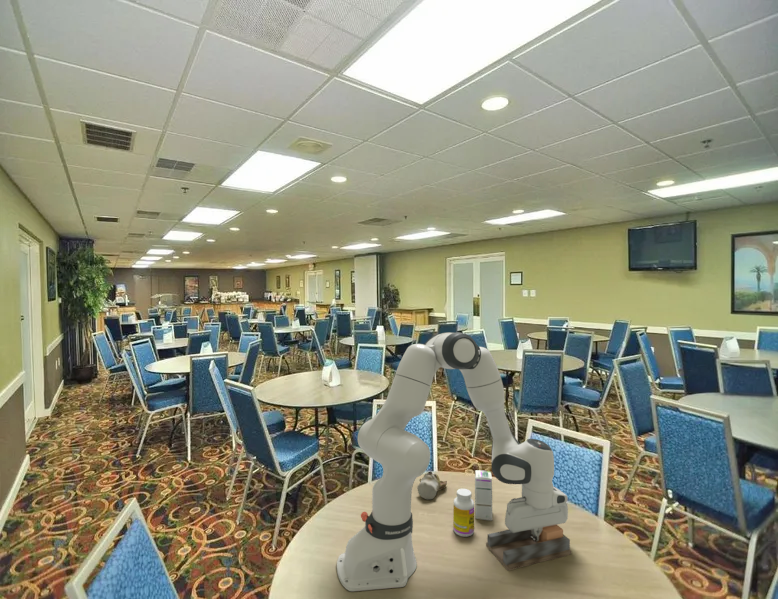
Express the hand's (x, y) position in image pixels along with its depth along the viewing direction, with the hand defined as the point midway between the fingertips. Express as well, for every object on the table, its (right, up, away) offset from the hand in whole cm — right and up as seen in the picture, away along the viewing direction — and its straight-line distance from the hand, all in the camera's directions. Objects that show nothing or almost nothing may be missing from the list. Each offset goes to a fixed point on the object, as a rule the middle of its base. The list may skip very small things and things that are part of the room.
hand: (535, 540), depth 117 cm
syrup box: (-12, -2, +17) cm, 21 cm away
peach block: (+4, -1, +1) cm, 5 cm away
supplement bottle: (-20, -3, +8) cm, 22 cm away
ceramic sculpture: (-28, -2, +32) cm, 43 cm away
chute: (-3, -3, -1) cm, 4 cm away
